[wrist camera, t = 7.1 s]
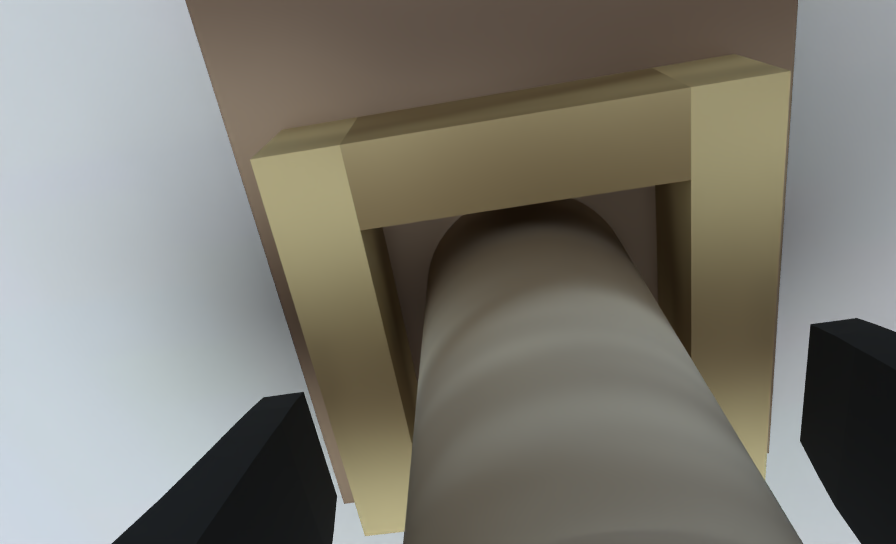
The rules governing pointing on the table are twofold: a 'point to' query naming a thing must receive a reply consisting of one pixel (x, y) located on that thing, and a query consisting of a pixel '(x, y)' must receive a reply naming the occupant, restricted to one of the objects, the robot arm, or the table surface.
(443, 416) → the beige cylinder
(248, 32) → the dock
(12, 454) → the table surface
